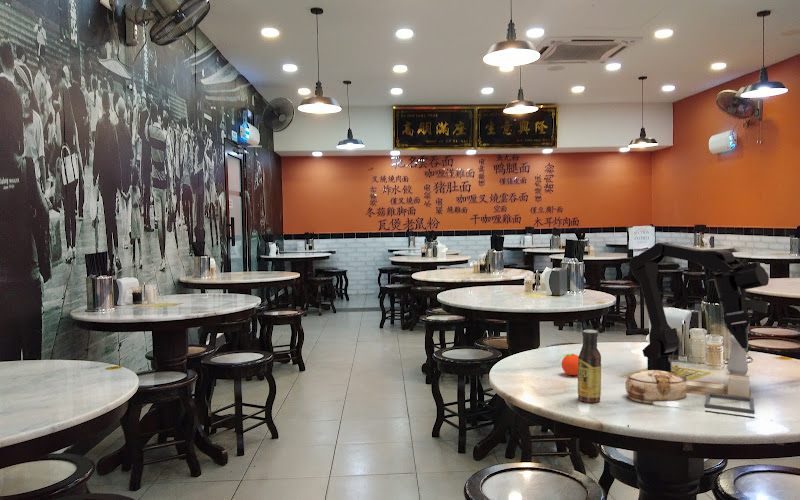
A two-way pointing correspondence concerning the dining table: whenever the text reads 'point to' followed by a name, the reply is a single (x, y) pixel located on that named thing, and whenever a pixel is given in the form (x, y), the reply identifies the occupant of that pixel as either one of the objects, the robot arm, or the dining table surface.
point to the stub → (738, 385)
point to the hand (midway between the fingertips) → (744, 347)
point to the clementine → (570, 364)
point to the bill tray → (729, 406)
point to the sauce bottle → (589, 368)
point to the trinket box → (655, 386)
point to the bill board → (706, 387)
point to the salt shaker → (737, 359)
